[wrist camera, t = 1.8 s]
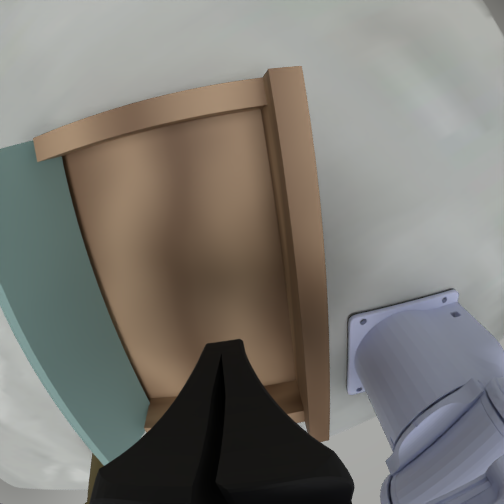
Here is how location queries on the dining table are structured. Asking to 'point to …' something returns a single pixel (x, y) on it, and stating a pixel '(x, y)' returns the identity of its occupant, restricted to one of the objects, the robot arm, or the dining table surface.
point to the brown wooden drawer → (208, 234)
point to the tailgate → (63, 306)
